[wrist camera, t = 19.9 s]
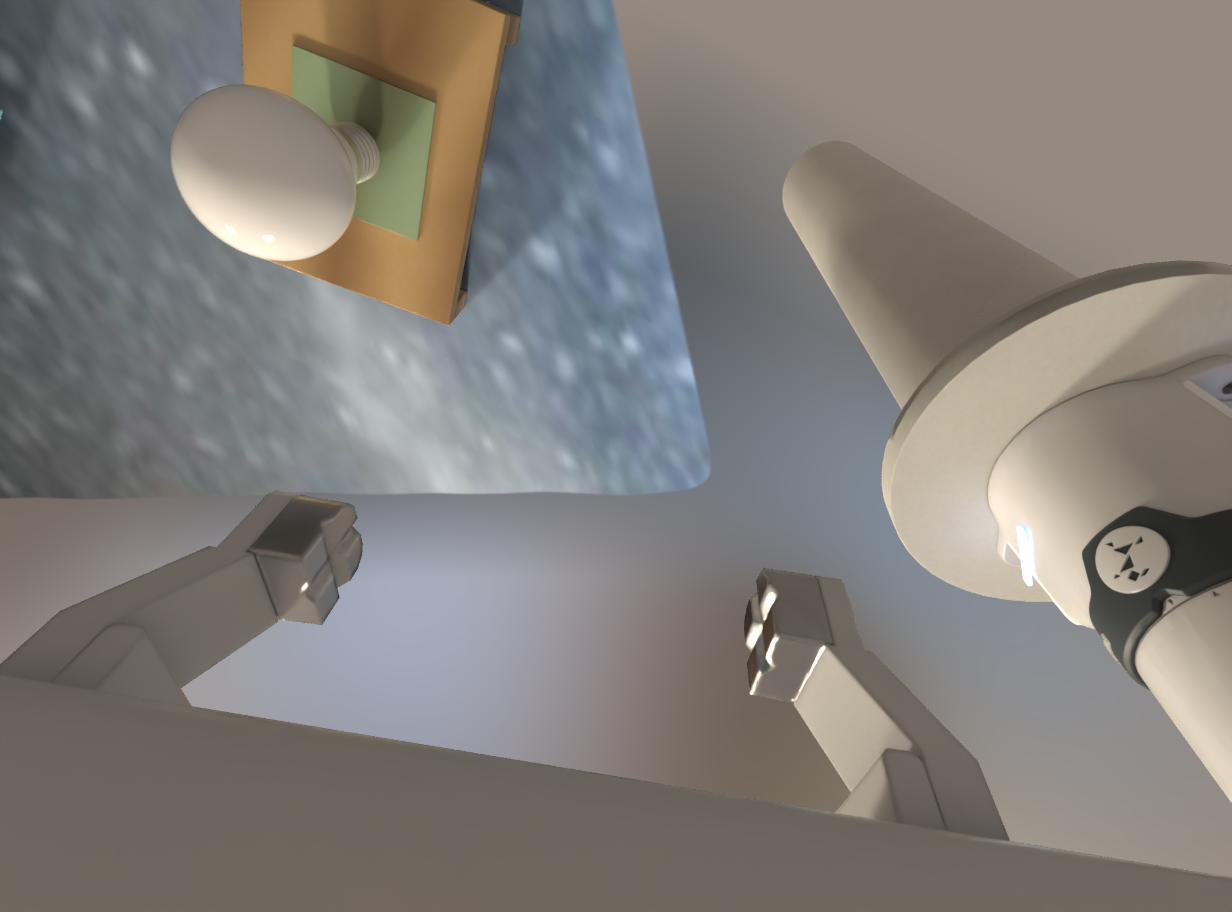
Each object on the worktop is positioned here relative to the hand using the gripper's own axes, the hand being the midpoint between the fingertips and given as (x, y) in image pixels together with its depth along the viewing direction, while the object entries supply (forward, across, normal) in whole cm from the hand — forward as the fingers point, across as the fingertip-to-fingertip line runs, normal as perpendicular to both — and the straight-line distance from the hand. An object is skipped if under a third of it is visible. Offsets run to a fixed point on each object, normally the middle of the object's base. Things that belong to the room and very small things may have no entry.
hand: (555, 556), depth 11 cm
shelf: (+27, -15, +2) cm, 31 cm away
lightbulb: (+24, -15, +2) cm, 28 cm away
